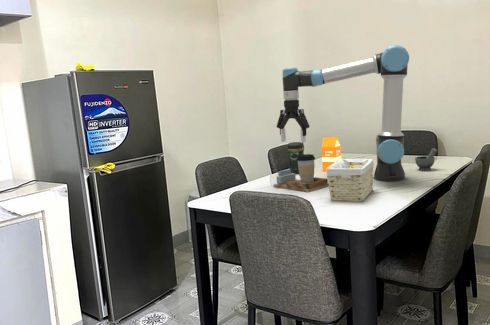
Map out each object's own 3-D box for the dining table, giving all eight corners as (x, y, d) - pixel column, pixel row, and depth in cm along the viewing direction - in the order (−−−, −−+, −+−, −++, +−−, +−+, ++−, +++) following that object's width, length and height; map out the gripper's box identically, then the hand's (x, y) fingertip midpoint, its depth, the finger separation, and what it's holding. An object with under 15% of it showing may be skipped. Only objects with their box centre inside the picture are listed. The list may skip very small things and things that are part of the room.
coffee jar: (307, 171, 256) (305, 141, 253) (302, 174, 249) (300, 142, 246) (292, 171, 260) (290, 141, 257) (287, 174, 253) (285, 143, 251)
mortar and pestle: (413, 171, 231) (412, 149, 230) (417, 168, 239) (416, 147, 237) (435, 171, 225) (435, 149, 223) (439, 168, 233) (438, 147, 231)
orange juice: (336, 172, 247) (334, 137, 244) (322, 171, 253) (320, 138, 250) (341, 169, 253) (340, 136, 250) (328, 169, 259) (326, 136, 256)
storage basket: (364, 202, 176) (363, 167, 174) (326, 201, 183) (324, 167, 181) (375, 189, 197) (374, 158, 194) (340, 188, 204) (339, 158, 202)
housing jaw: (295, 180, 226) (295, 168, 225) (280, 183, 219) (280, 172, 218) (291, 179, 229) (290, 168, 228) (276, 183, 222) (276, 171, 221)
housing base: (330, 186, 212) (329, 178, 211) (308, 192, 202) (308, 184, 201) (295, 181, 230) (294, 174, 230) (273, 187, 220) (273, 180, 220)
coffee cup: (316, 186, 207) (314, 156, 205) (297, 187, 209) (295, 157, 207) (317, 182, 216) (315, 153, 214) (298, 183, 218) (296, 154, 216)
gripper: (268, 100, 219) (270, 141, 222) (305, 99, 200) (307, 143, 203) (278, 100, 224) (280, 140, 227) (315, 98, 205) (317, 142, 208)
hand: (293, 142), depth 215 cm, fingers open, 13 cm apart
